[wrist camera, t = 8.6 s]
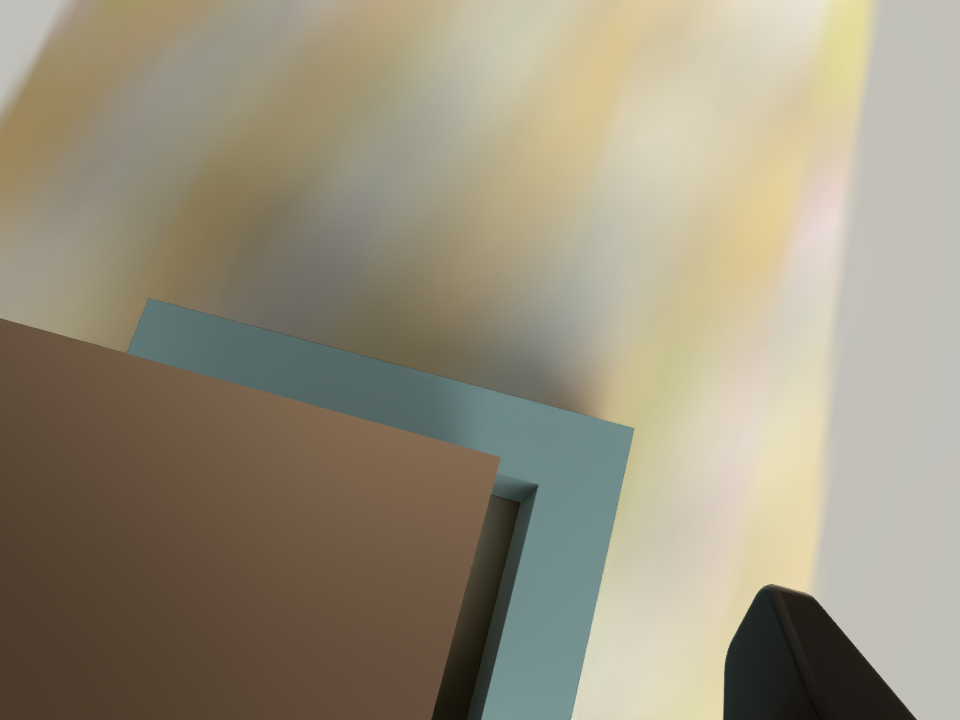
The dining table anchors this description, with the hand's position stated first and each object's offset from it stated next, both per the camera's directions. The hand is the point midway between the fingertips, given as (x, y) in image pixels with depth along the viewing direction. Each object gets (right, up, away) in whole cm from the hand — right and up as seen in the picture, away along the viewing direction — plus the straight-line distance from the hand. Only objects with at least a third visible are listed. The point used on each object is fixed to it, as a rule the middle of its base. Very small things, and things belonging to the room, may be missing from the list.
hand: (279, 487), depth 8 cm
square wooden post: (-1, -3, +7) cm, 8 cm away
